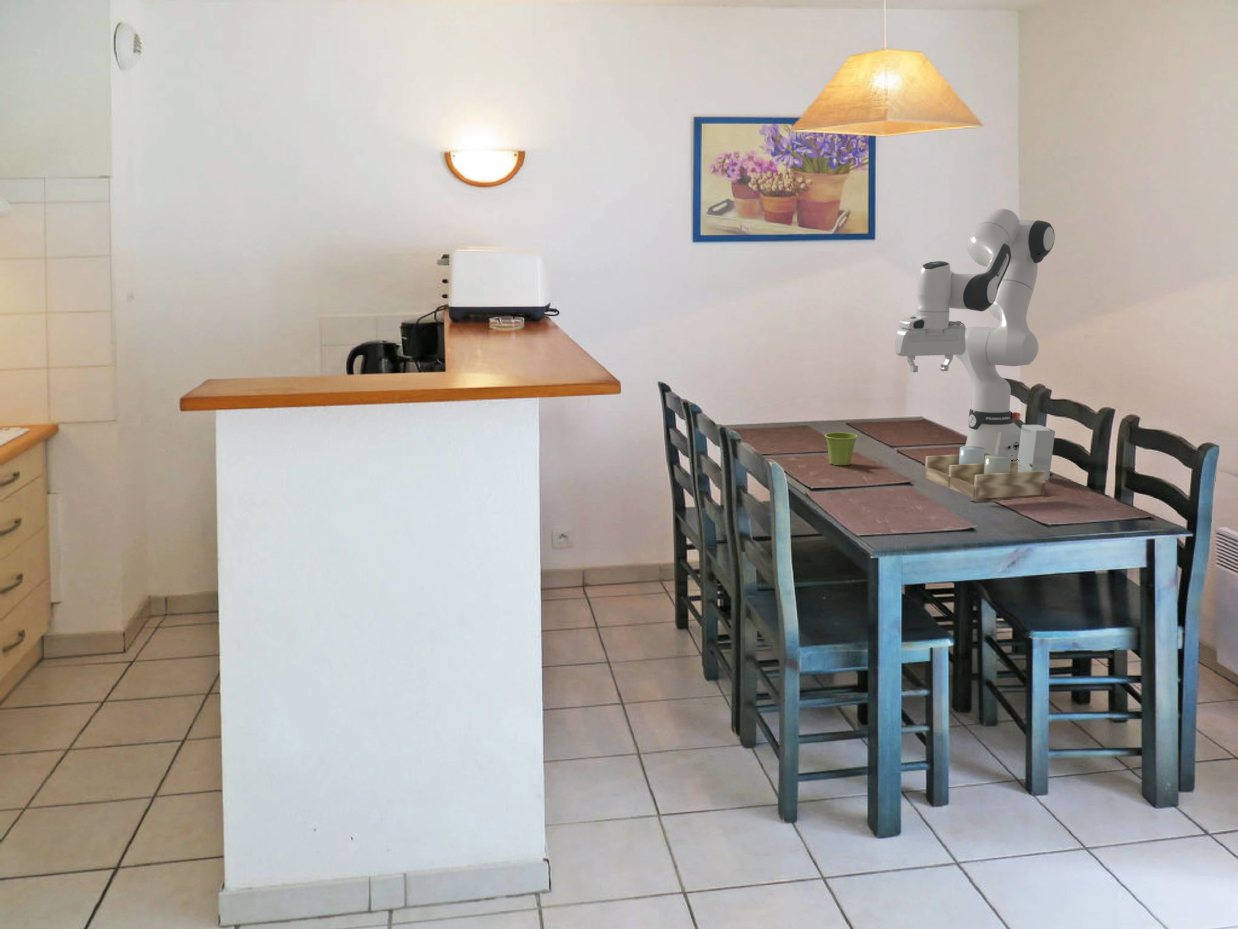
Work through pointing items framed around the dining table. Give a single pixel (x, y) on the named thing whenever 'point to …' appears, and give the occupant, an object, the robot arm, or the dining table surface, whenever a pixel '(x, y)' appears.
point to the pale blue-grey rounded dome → (971, 455)
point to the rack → (983, 479)
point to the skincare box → (1035, 449)
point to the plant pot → (840, 447)
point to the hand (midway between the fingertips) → (929, 371)
